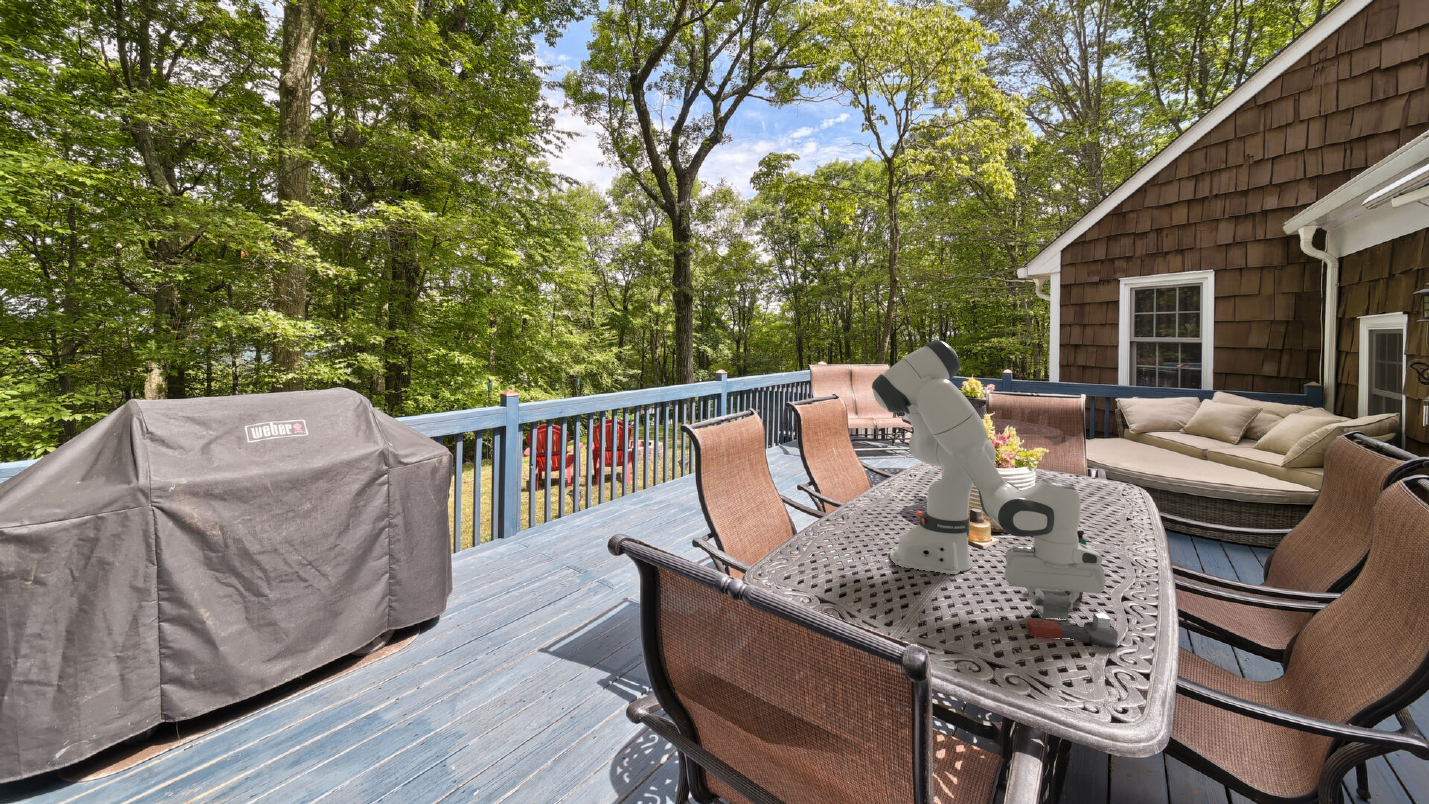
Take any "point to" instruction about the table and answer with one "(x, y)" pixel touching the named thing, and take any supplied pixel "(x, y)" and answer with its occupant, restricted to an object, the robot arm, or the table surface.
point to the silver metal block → (1053, 603)
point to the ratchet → (1077, 630)
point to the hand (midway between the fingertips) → (1051, 606)
